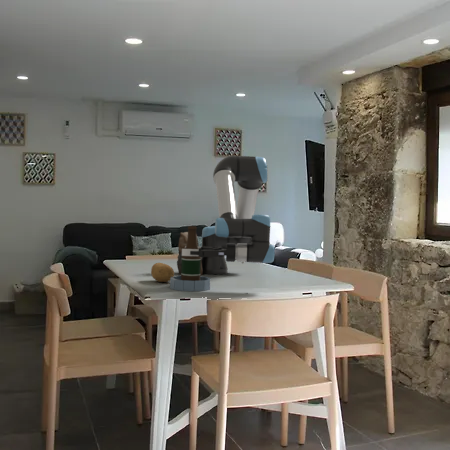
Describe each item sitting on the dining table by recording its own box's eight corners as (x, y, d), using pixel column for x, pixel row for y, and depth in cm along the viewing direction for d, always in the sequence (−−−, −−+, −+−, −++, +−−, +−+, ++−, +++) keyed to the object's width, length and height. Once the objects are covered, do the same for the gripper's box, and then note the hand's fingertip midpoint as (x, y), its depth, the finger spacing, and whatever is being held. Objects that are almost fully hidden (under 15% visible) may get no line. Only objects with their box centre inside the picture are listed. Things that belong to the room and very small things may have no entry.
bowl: (172, 284, 240) (172, 274, 240) (210, 285, 240) (211, 276, 240) (168, 290, 224) (168, 280, 224) (209, 291, 224) (209, 281, 224)
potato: (157, 284, 238) (157, 265, 237) (146, 280, 250) (147, 262, 250) (179, 284, 242) (179, 265, 242) (167, 279, 255) (168, 261, 254)
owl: (176, 274, 272) (178, 232, 271) (174, 271, 284) (175, 231, 283) (203, 275, 274) (204, 233, 273) (199, 271, 287) (200, 231, 286)
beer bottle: (182, 286, 228) (184, 226, 227) (179, 284, 235) (181, 225, 234) (201, 286, 229) (203, 227, 228) (198, 284, 237) (200, 226, 236)
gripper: (235, 265, 219) (180, 263, 219) (235, 258, 244) (185, 257, 244) (236, 245, 219) (180, 243, 219) (236, 241, 244) (186, 239, 244)
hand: (183, 250), depth 232 cm, fingers open, 13 cm apart
